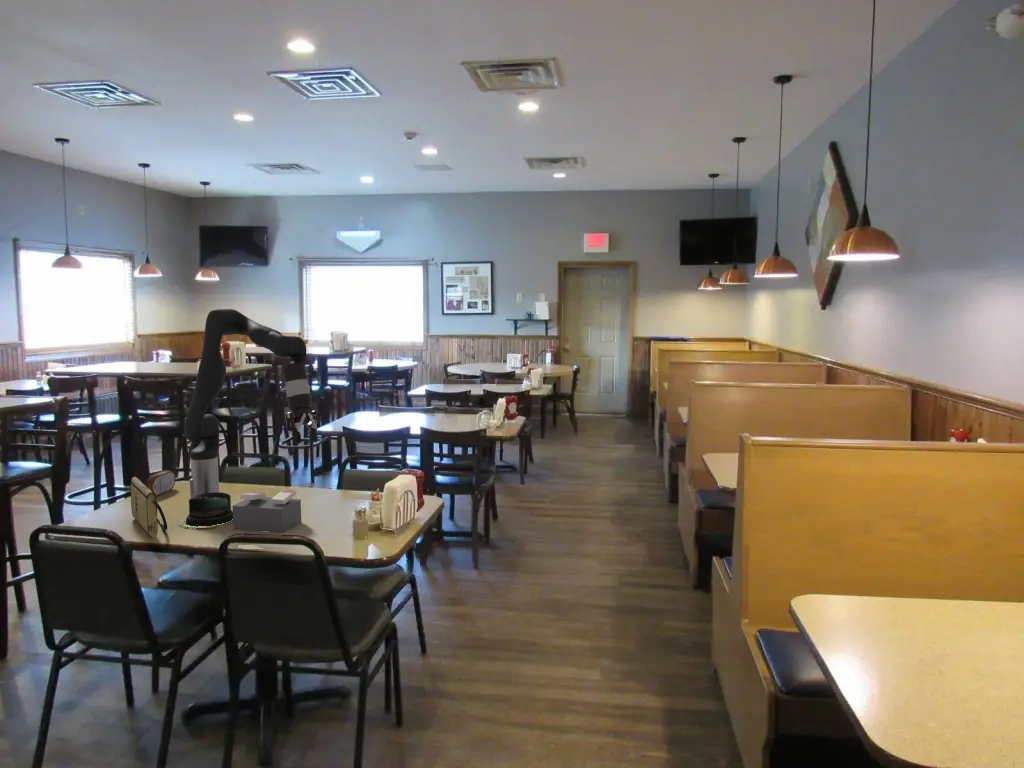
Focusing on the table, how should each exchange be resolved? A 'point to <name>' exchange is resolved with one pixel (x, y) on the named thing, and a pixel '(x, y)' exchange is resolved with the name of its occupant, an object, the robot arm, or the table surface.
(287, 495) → the right rocker
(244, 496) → the left rocker
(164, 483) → the tin
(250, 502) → the switch box
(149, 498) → the clutch purse
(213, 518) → the dark green hat
